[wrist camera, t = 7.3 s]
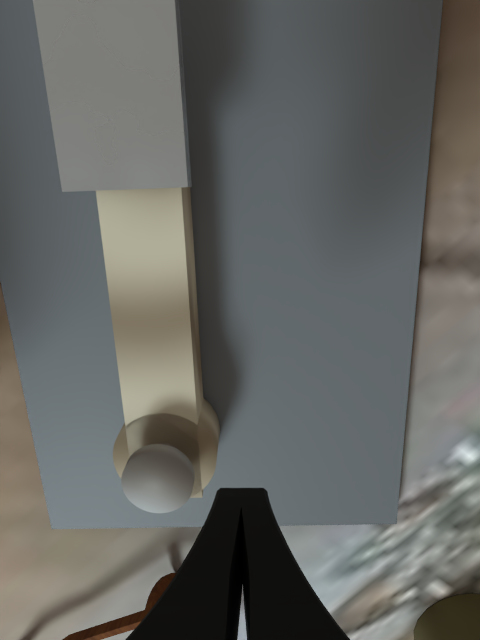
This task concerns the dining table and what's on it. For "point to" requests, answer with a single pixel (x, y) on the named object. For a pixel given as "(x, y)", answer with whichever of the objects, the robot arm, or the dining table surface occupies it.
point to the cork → (451, 619)
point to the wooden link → (157, 347)
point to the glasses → (93, 635)
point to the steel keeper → (115, 92)
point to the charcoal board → (242, 258)
